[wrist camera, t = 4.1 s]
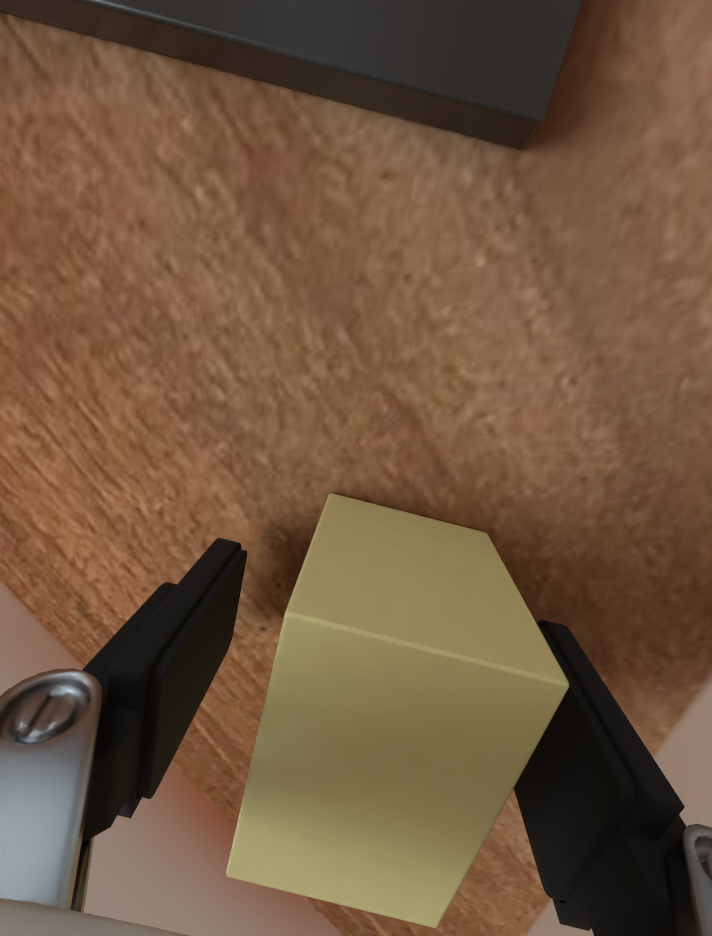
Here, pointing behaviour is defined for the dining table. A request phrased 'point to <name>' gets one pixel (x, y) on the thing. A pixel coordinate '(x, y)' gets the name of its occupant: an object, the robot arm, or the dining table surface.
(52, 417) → the dining table surface
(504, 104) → the board
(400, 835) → the butter
